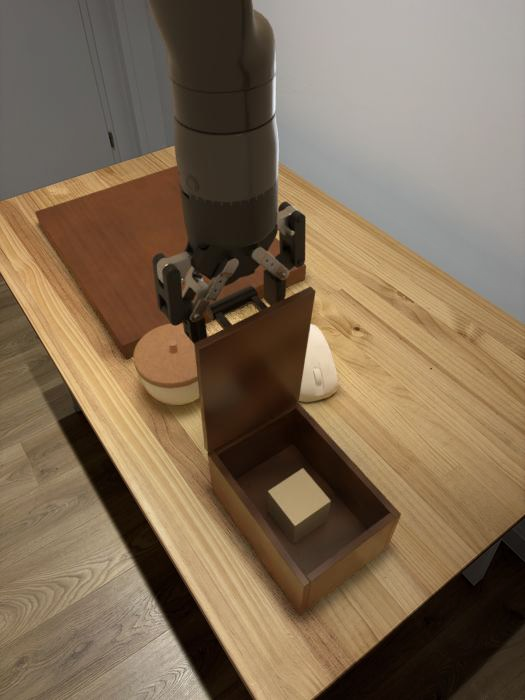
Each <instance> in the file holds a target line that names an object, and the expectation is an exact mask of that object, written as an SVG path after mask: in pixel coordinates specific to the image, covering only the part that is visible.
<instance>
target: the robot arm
mask: <svg viewBox="0 0 525 700" xmlns="http://www.w3.org/2000/svg"><path fill="white" fill-rule="evenodd" d="M146 1H147V5H148V8H149V10H150V13H151V16H152V19H153V21H154V24H155V26H156V28H157V31H158V34H159V36H160V38H161V41H162V43H163V46H164V48H165V51H166V57H167V69H168V70H167V71H168V77H169V84H170V93H171V100H172V109H173V122H174V124H173V125H174V130H173V131H174V136H173V139H174V141H173V143H174V144H173V145H174V153H175V154H174V155H175V162H176V166H177V169H178V177H179V185H180V193H181V200H182V208H183V215H184V223H185V228H186V232H187V236H188V242H187V245H186V248H185V251H184V252H183V253H180V254H178V255H175V256H172V257H169V258H167V257H166V256H165V255H164V254H163V253H159V254H157V255H155V256H154V258H153V260H152V263H153V271H154V279H155V287H156V295H157V303H158V308H159V309H160V310H161V312H163V313H164V314H165V316H166V317H167V318H168V319H169V321H170V323H171V324H172V325H174V326H177V325H179V324H181V323H182V322H183V327H184V333H185V334H186V335H187V336H188V337H189V339H190V340H191V341H192V342H193V343H194V344H195V343H196V342H198V341H200V340H202V339H204V338H206V337H207V334H208V331H207V323H206V322H205V317H204V316H203V314H204V312H205V311H206V309H207V307H208V305H209V303H210V302H214V301H216V300H217V298H218V296H219V294H220V292H221V291H222V289H223V287H224V285H225V286H227V285H229V284H231V283H233V282H235V281H236V280H238V279H239V278H241V277H245V276H249V275H251V274H253V273H255V269H257V268H258V266H259V265H262V266H263V267H264V268H265V269H266V270H264V298H263V299H264V301H265V302H266V303H267V304H268V305H269V306H271V305H274V304H276V303H278V302H280V301H282V300H284V299H286V296H287V295H286V294H287V292H286V291H287V287H286V278H287V277H288V276H289V274H290V270H291V269H292V268H293V267H296V268H299V267H301V266H302V265H303V264H306V221H307V220H306V215H305V214H304V213H303V212H302V211H300V210H298V209H297V208H296V207H295V206H294V205H292V204H291V203H290V202H288V201H287V200H286V201H283V202H281V203H280V205H279V203H278V202H279V155H280V154H279V153H280V147H279V144H280V143H279V142H280V141H279V132H278V131H279V130H278V124H277V110H276V108H277V107H276V106H277V46H276V40H275V39H276V38H275V34H274V29H273V27H272V25H271V23H270V22H269V19H268V18H266V17H265V15H264V14H262V13H261V12H259V11H258V10H256V9H254V5H253V0H146ZM277 235H278V240H279V244H280V253H279V254H278V255H277V256H276V257H274V256H272V255H271V254H270V253H269V252H268V250H269V248H270V246H271V244H272V242H273V241H274V239H275V237H276V238H277ZM188 268H190V269H189V271H188V273H187V275H186V277H185V273H186V271H187V269H188ZM202 275H204V276H205V277H207V278H208V279H210V280H211V281H210V283H209V285H207V284H206V283H205V282H204V281H203V279H202ZM184 278H185V279H184ZM185 282H186V285H185V287H184V289H183V291H182V288H181V284H184V283H185ZM196 294H197V299H196V300H195V302H193V299H194V297H195V295H196Z"/></svg>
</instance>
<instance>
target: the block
mask: <svg viewBox="0 0 525 700" xmlns="http://www.w3.org/2000/svg"><path fill="white" fill-rule="evenodd" d="M330 503H331V500H330V499H329V498H328V497H327V496H326V495H325V493H324V492H323V491H322V490H321V489H320V487H319V486H318V485H317V484H316V483H315V482H314V480H313V479H312V478H311V477H310V476H309V475H308V473H307V472H306V471H305V470H304V469H303V468H302V469H301V470H299V471H298V472H296V473H295V474H293V475H292V476H290V477H289V478H287V479H286V480H284V481H283V482H281V483H279V484H278V485H276V486H275V487H273V488H272V489H270V490H269V491H268V512H269V513H270V515H271V516H272V517H273V519H274V520H275V521H276V523H277V524H278V525H279V527H280V528H281V529H282V531H283V532H284V533H285V534H286V536H287V537H288V538H289V540H290V541H291V542H292V544H295V543H296V542H298V541H299V540H301V539H302V538H303V537H305V536H306V535H308V534H309V533H310V532H312V531H313V530H315V529H316V528H317V527H319V526H320V525H322V524H323V523H324V522H326V521H327V519H328V513H329V508H330Z"/></svg>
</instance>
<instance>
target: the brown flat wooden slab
mask: <svg viewBox="0 0 525 700" xmlns="http://www.w3.org/2000/svg"><path fill="white" fill-rule="evenodd" d="M34 213H35V216H36V218H37V219H36V220H37V221H38V224H39V226H40V228H41V229H42V231H43V232H44V234H45V235H46V237H47V239H48V240H49V241H50V244H51V245H52V247H53V248H54V250H55V251H56V252H57V254H58V256H59V257H60V259H61V261H62V262H63V263H64V266H65V267H66V268H67V269H68V271H69V273H70V274H71V276H72V278H73V279H74V281H75V282H76V283H77V285H78V286H79V288H80V290H81V291H82V293H83V295H84V296H85V298H86V300H87V301H88V302H89V304H90V305H91V307H92V309H93V310H94V312H95V314H96V315H97V316H98V318H99V319H100V321H101V323H102V324H103V326H104V328H105V329H106V330H107V332H108V333H109V335H110V337H111V338H112V340H113V341H114V342H115V344H116V346H117V348H118V349H119V350H120V352H121V353H122V355H123V357H124V358H125V360H128V359H131V358H133V355H134V350H135V347H136V345H137V343H138V342H139V341H140V339H141V338H142V337H143V336H144V335H145V334H147V333H148V332H150V331H151V330H153V329H155V328H157V327H160V326H163V325H166V324H171V323H170V321H169V319H168V318H167V317H166V316H165V314H164V313H163V312H161V310H160V309H159V308H158V303H157V295H156V287H155V279H154V271H153V263H152V260H153V258H154V256H155V255H157V254H159V253H163V254H164V255H165V256H166V257H167V258H169V257H172V256H175V255H178V254H180V253H183V252H184V251H185V248H186V245H187V242H188V236H187V232H186V228H185V223H184V215H183V208H182V200H181V193H180V185H179V177H178V169H177V165H174V166H171V167H168V168H164V169H162V170H159V171H155V172H153V173H149V174H146V175H144V176H140V177H138V178H135V179H131V180H128V181H125V182H122V183H119V184H116V185H113V186H110V187H107V188H103V189H101V190H98V191H93V192H91V193H88V194H85V195H82V196H79V197H76V198H73V199H70V200H67V201H64V202H60V203H57V204H54V205H52V206H51V205H50V206H47V207H45V208H41V209H39V210H36V211H35V212H34ZM268 252H269V253H270V254H271V255H272V256H274V257H276V256H277V255H278V254H279V253H280V244H279V238H277V236H276V237H275V239H274V241H273V242H272V244H271V246H270V248H269V250H268ZM189 269H190V268H188V269H187V271H186V273H185V277H186V275H187V273H188V271H189ZM264 270H266V269H265V268H264V267H263V266H262V265H259V266H258V268H257V269H255V273H253V274H251V275H249V276H245V277H241V278H239V279H238V280H236V281H235V282H233V283H231V284H229V285H227V286H225V285H224V287H223V289H222V291H221V292H220V294H219V296H218V298H217V300H219V299H221V298H223V297H225V296H227V295H229V294H231V293H234V292H236V291H238V290H240V289H242V288H244V287H246V286H249V285H252V286H254V288H255V289H256V291H257V294H258V297H259V298H260V299H261V300H262V299H264ZM306 273H307V265H306V263H304V264H303V265H302V266H301V267H299V268H296V267H293V268H292V269H291V270H290V274H289V276H288V277H287V278H286V288H288V287H291V286H293V285H295V284H297V283H300V282H302V281H304V280H306V276H307V275H306ZM184 279H185V278H184ZM202 279H203V281H204V282H205V283H206V284H207V285H209V283H210V281H211V280H210V279H208V278H207V277H205V276H204V275H202ZM185 285H186V282H185V283H184V284H181V288H182V291H183V289H184V287H185ZM196 299H197V294H196V295H195V297H194V299H193V302H195V300H196ZM210 303H212V302H210ZM210 303H209V304H210ZM249 305H252V303H249V304H247V305H245V306H243V307H241V308H244V307H246V306H249ZM241 308H240V309H241ZM203 316H204V317H205V322H206V324H209V323H210V322H213V321H212V320H211V319H210V318H209V316H208V315H207V312H206V311H205V312H204V314H203ZM182 323H183V322H182Z"/></svg>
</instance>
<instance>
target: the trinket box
mask: <svg viewBox="0 0 525 700" xmlns="http://www.w3.org/2000/svg"><path fill="white" fill-rule="evenodd" d="M208 336H210V334H208V333H207V337H208ZM132 359H133V364H134V365H133V366H134V368H135V370H136V372H137V375H138V377H139V381H140V383H141V384H142V386H143V387H144V389H145V390H146V391H147V393H148V394H149V395H150V396H151V397H153V398H154V399H155V400H157V401H158V402H160V403H163V404H166V405H170V406H181V405H187V404H190V403H192V402H194V401H196V400H198V399H200V397H199V387H198V377H197V367H196V357H195V347H194V343H193V342H192V341H191V340H190V339H189V337H188V336H187V335H186V334H185V333H184V327H183V323H181V324H179V325H177V326H174V325H172V324H166V325H163V326H160V327H157V328H155V329H153V330H151V331H150V332H148V333H147V334H145V335H144V336H143V337H142V338H141V339H140V341H139V342H138V343H137V345H136V347H135V350H134V355H133V357H132Z"/></svg>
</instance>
